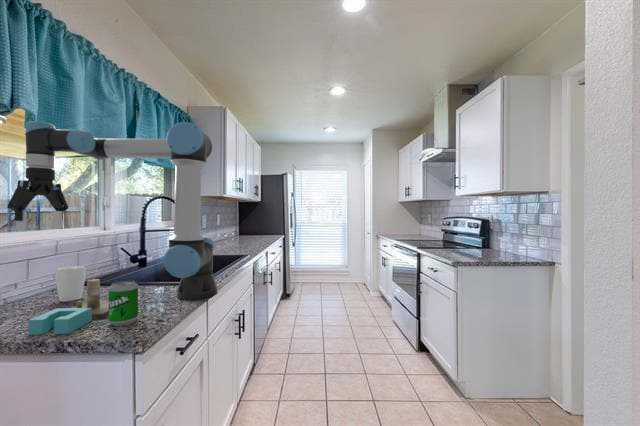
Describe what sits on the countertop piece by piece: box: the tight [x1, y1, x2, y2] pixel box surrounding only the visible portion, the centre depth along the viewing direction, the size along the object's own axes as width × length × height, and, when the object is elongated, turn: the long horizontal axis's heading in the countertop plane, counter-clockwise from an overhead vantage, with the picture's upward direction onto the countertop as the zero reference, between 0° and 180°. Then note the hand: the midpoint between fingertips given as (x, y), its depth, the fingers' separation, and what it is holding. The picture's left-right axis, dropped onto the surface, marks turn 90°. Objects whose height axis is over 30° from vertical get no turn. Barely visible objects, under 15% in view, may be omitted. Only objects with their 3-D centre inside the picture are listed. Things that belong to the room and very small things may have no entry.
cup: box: [54, 265, 87, 303], centre depth 117 cm, size 9×9×12 cm
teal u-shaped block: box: [28, 307, 93, 336], centre depth 89 cm, size 10×10×4 cm
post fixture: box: [71, 278, 108, 320], centre depth 103 cm, size 14×14×10 cm
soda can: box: [107, 280, 139, 327], centre depth 93 cm, size 8×8×12 cm
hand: (40, 230), depth 106 cm, fingers open, 13 cm apart
